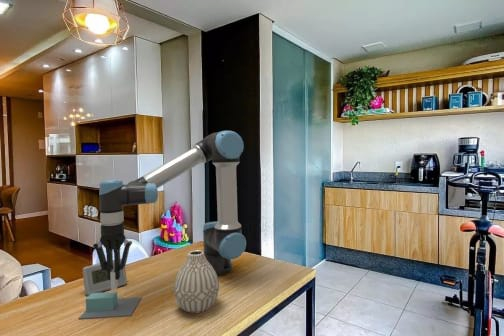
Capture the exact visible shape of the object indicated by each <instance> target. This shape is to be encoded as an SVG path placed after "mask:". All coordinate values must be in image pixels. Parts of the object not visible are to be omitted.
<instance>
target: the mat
mask: <svg viewBox="0 0 504 336" xmlns="http://www.w3.org/2000/svg"><path fill="white" fill-rule="evenodd" d="M142 298H143V297H142V296H138V297H137V296H136V297H119V298H118V297H117V305H116V307H115V308H114V309H113V310H108V311H91V312H86V310H85V311H84V312H83V313H82V314H81V315H80V316H79V317H78V320H91V319H106V318H107V319H108V318H110V319H111V318H120V317H121V318H123V317H124V318H125V317H132V315H133V314H134V312H135V310H136V308H137V307H138V305H139V303H140V301H141V300H142Z"/></svg>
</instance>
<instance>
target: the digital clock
mask: <svg viewBox="0 0 504 336" xmlns="http://www.w3.org/2000/svg"><path fill="white" fill-rule="evenodd" d="M121 260H122V258H120V265H121ZM113 267H114V268H113V269H115V265H114V259H113ZM126 271H127V270H126V266H125V267H124V268H123V269H121V270H120V278H119V280H118V287H117V288H119V287H123V286H125V285H127V283H128V279H127V272H126ZM82 276H83V277H82V279H83V286H84V294H85V296H89V295H90V294H91V293H105V292H108V291H112V290H111V280H108V272H107V271H106V270H102V268H101V265H100V262H99V263H95V264H93V265H92V264H91V265H88V266H85V267H83V268H82ZM117 288H116V289H117Z"/></svg>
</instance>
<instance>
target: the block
mask: <svg viewBox="0 0 504 336" xmlns="http://www.w3.org/2000/svg"><path fill="white" fill-rule="evenodd" d="M117 298H118V292H117V291H111V292H110V291H109V292H108V291H105V292H100V293H91V294H90V295H87V297H86V298H85V311H86V312H91V311H108V310H113V309H114V308H115V307H116V305H117Z"/></svg>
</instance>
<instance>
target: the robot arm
mask: <svg viewBox="0 0 504 336" xmlns="http://www.w3.org/2000/svg"><path fill="white" fill-rule="evenodd" d="M244 148H245V147H244V141H243V138H242V137H241V135H240V134H238V133H237V132H235V131H232V130H222V131H218V132H212V133H210V134H209V135H207V136H205V137H204V138H203V139H201V140H199V141H198V142H196V143H195V144H193V145H192V148H191V149H188V150H187V151H185V152H183V153H181V154H180V155H178V156H176V157H174V158H173V159H171V160H169V161H167V162H165V163H163V164H162V165H160V166H158V167H156V168H155V169H153V170H151V171H149V172H148V173H146V174H144V175H142V176H140V177H138V178H136V179H135V180H131V181H129V182H128V183H127V184H124V183H123V180H122V179H106V180H105V179H104V180H101V181H100V182H99V196H98V197H99V211H100V213H99V215H100V216H99V218H100V219H99V221H100V238H99V241H97V242H95V243H93V248H94V249H95V251H96V254H97V258H98V260H99V263H100V265H101V268H102V270H106V271H107V272H108V280H111V290H110V291H116V289H117V287H118V280H119V278H120V270H121V269H123V268H124V267H125V268H126V265H127V261H128V256H129V250H130V248H131V246H132V245H133V241H132V240H128V239H127V238H126V236H125V224H124V221H125V220H124V206H125V207H126V206H134V205H135V206H136V205H145V204H146V205H149V204H155V203H156V202H157V201H158V199H159V198H158V197H159V191H158V189H159V188H160V187H162V186H164V185H165V184H167V183H169V182H171V181H172V180H175V179H176V178H178V177H180V176H181V175H183V174H184V173H186V172H188V171H189V170H191V169H193V168H195V167H196V166H198V165H200V164H205V163H208V162H209V161H211V162H212V164H213V165H214V166H215V176H216V178H215V179H216V202H217V203H216V205H217V208H216V210H217V211H216V212H217V221H210V222H205V223H204V224H203V226H202V227H203V228H202V229H203V230H202V232H203V233H202V235H203V238H202V239H203V240H202V241H203V252H204V254H205V257H206V259H207V261H208V262H209V263H210V264H211V266H212V267H213V268H214V270H215V272H216V274H217V277H221V276H225V275H228V274H230V273H231V272H232V271H233V262H232V260H236V259H238V258H239V257H241V256H242V254H244V252H245V250H246V248H247V240H246V237H245V235H243V234H242V233H243V232H242V224H241V223H240V222H239V221H238V220H239V219H238V218H239V217H238V192H237V191H238V186H237V184H238V183H237V166H238V165H239V164H240V156H241V155H242V154H243V151H244ZM122 246H124V249H123V252H122V256H121V247H122ZM103 247H104V248H105V251H104V248H103ZM105 253H106V254H105ZM120 259H122V260H121V265H120ZM113 260H114V265H115V269H113V268H114V267H113ZM118 288H119V287H118Z"/></svg>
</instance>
